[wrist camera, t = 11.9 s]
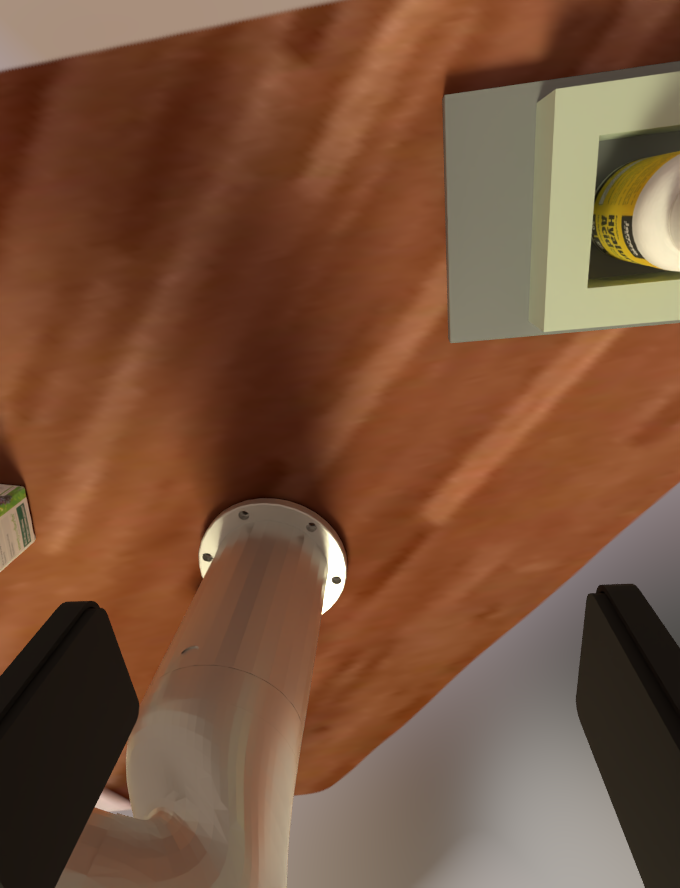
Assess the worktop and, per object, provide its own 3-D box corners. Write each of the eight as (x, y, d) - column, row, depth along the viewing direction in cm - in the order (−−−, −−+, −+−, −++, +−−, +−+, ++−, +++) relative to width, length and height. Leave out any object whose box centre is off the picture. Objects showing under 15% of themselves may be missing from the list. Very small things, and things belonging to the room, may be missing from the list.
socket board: (864, 38, 27) (953, 5, 23) (798, 307, 33) (861, 321, 28) (442, 99, 30) (452, 80, 25) (448, 339, 35) (457, 356, 31)
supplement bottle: (564, 219, 31) (638, 220, 22) (640, 137, 29) (755, 101, 20) (624, 279, 32) (718, 304, 23) (702, 204, 30) (837, 199, 21)
